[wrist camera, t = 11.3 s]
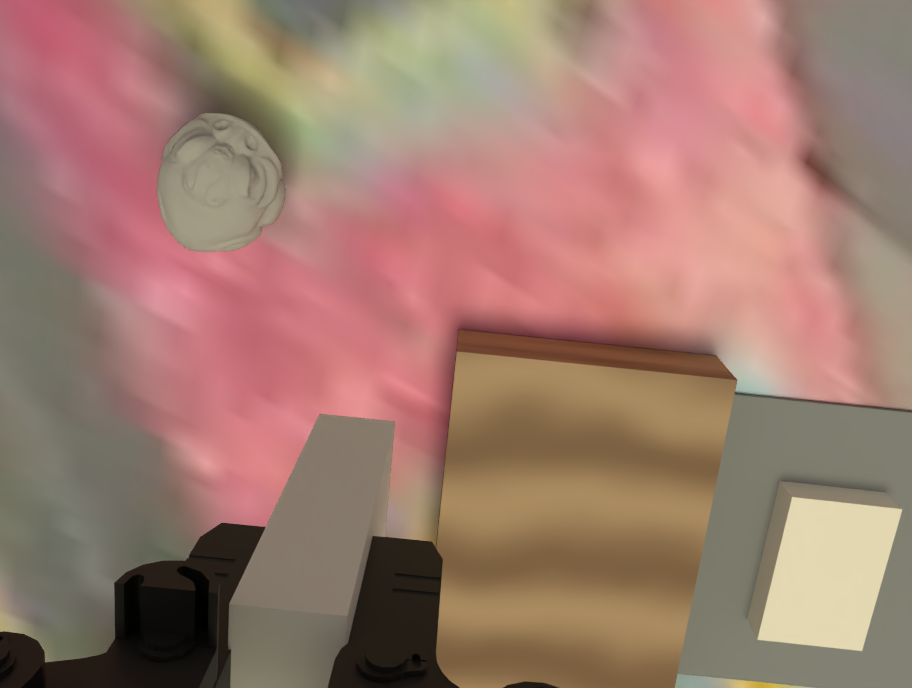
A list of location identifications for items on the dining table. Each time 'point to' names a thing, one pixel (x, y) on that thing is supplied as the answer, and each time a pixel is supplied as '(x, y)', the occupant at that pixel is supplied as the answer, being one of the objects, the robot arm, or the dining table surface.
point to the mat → (746, 526)
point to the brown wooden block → (574, 509)
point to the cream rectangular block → (822, 565)
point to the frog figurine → (219, 183)
